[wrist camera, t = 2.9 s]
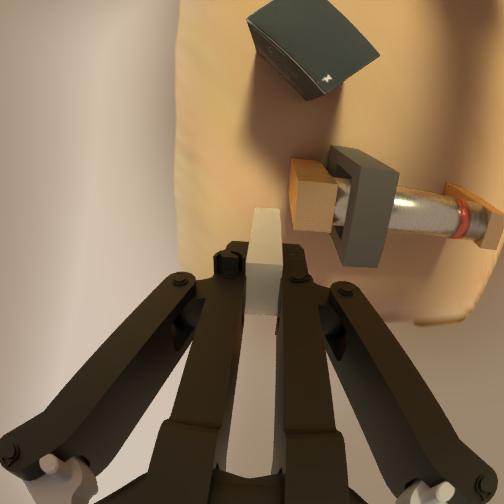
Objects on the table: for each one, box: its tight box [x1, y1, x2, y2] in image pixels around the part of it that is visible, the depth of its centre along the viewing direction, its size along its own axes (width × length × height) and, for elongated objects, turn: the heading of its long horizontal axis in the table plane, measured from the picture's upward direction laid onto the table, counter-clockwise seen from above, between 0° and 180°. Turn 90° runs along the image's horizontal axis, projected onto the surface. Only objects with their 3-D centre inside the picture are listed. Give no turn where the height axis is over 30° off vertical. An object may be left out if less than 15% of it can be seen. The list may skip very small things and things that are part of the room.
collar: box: [328, 145, 399, 268], centre depth 23 cm, size 3×8×11 cm, turn 178°
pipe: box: [288, 158, 504, 250], centre depth 24 cm, size 23×4×10 cm, turn 88°
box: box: [246, 0, 380, 101], centre depth 18 cm, size 8×6×11 cm
